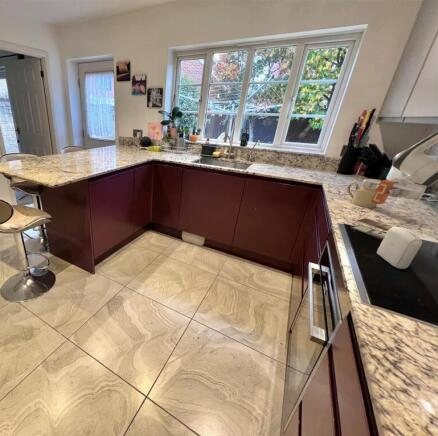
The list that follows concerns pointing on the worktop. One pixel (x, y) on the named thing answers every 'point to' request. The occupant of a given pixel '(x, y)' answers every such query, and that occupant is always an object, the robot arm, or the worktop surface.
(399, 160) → the robot arm
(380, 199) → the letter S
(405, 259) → the photo printer
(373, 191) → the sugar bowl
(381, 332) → the worktop surface
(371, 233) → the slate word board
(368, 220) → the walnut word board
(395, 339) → the worktop surface
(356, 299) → the worktop surface
